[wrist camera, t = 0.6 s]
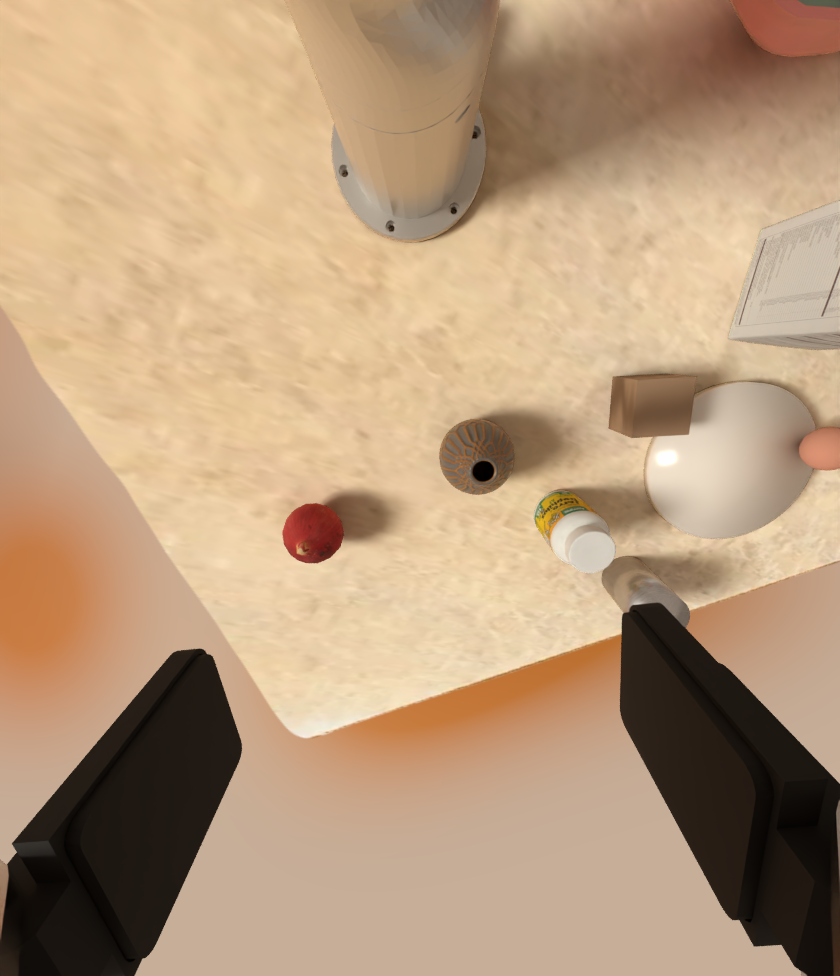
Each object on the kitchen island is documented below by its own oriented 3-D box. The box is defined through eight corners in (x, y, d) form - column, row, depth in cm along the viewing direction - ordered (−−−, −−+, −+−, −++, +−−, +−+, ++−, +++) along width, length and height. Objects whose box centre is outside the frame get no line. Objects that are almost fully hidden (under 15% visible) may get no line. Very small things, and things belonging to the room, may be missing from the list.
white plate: (689, 360, 40) (698, 360, 39) (837, 408, 41) (851, 410, 40) (617, 510, 45) (623, 515, 43) (752, 550, 46) (762, 556, 45)
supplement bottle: (547, 544, 46) (578, 591, 37) (523, 505, 45) (548, 545, 35) (592, 518, 45) (634, 561, 36) (568, 479, 44) (606, 512, 34)
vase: (477, 399, 41) (490, 411, 33) (519, 451, 43) (542, 475, 34) (424, 445, 43) (424, 467, 34) (467, 493, 44) (477, 526, 36)
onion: (360, 516, 45) (346, 550, 38) (327, 553, 47) (308, 592, 39) (316, 483, 44) (294, 510, 36) (284, 521, 45) (256, 555, 38)
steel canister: (613, 551, 46) (650, 590, 38) (654, 562, 46) (699, 604, 39) (594, 589, 48) (626, 634, 40) (634, 600, 48) (674, 647, 40)
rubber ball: (802, 418, 40) (841, 425, 36) (839, 430, 40) (882, 438, 37) (779, 457, 41) (815, 468, 37) (815, 468, 42) (855, 480, 38)
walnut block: (612, 376, 41) (637, 380, 36) (664, 373, 40) (696, 376, 36) (608, 428, 42) (631, 437, 37) (658, 425, 42) (688, 434, 37)
